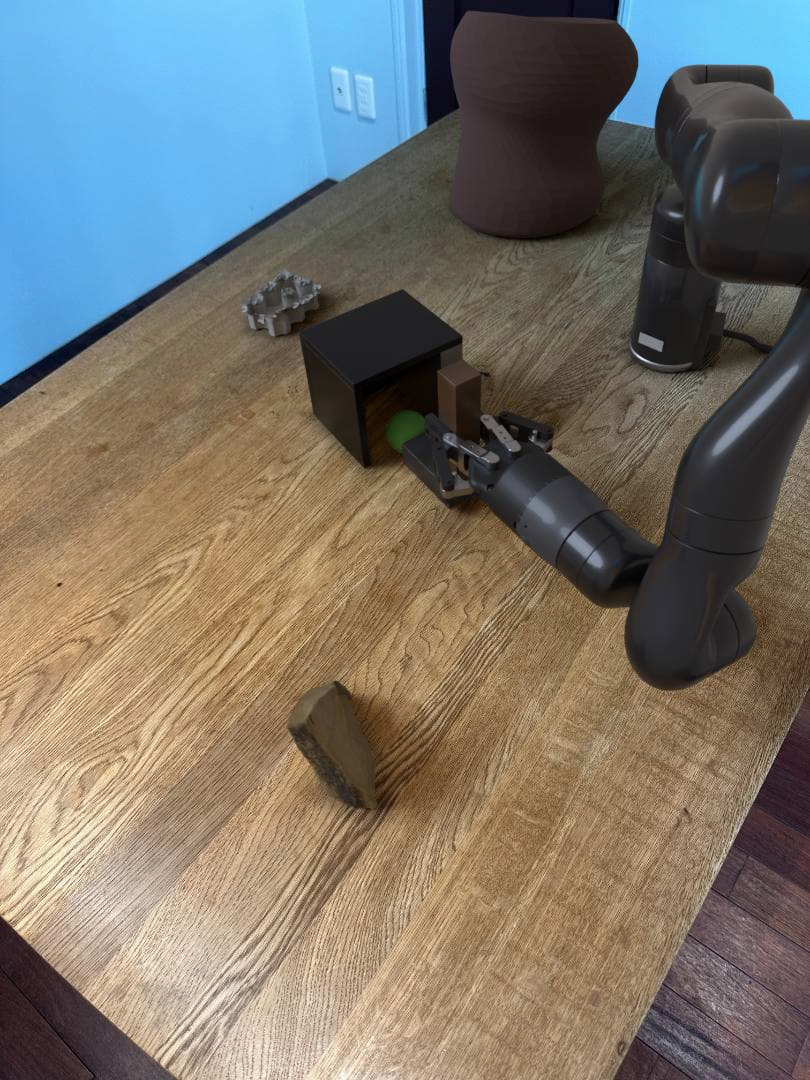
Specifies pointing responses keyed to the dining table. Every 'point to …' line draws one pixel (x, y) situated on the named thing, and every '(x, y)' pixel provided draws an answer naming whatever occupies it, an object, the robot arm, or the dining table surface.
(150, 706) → the dining table surface
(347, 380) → the black open box
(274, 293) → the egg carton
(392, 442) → the ball
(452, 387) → the post on dark base
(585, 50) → the vase
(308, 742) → the rock
